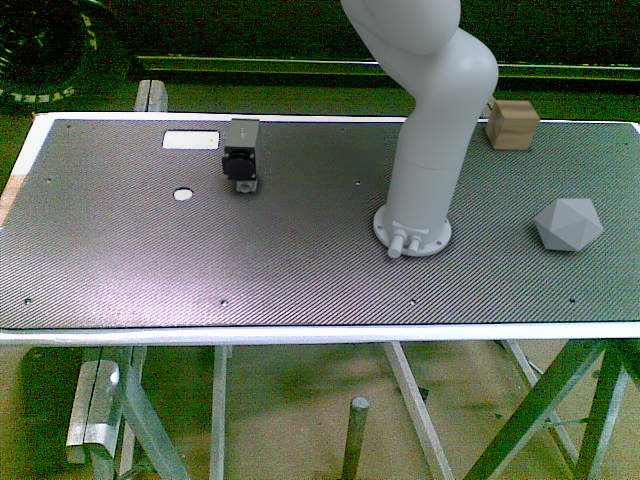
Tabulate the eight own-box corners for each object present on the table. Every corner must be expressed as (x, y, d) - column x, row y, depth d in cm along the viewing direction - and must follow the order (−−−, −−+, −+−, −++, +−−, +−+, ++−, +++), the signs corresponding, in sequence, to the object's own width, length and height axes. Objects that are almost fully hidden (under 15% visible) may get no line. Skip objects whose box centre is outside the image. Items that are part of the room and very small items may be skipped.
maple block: (527, 150, 96) (540, 119, 91) (493, 149, 96) (504, 118, 91) (517, 131, 101) (528, 101, 96) (484, 130, 100) (494, 99, 96)
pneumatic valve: (263, 166, 88) (260, 108, 80) (257, 208, 80) (252, 148, 71) (233, 165, 88) (227, 107, 80) (224, 207, 80) (216, 147, 71)
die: (579, 274, 73) (628, 222, 70) (538, 247, 71) (586, 192, 68) (551, 250, 81) (593, 203, 78) (513, 225, 79) (555, 175, 75)
